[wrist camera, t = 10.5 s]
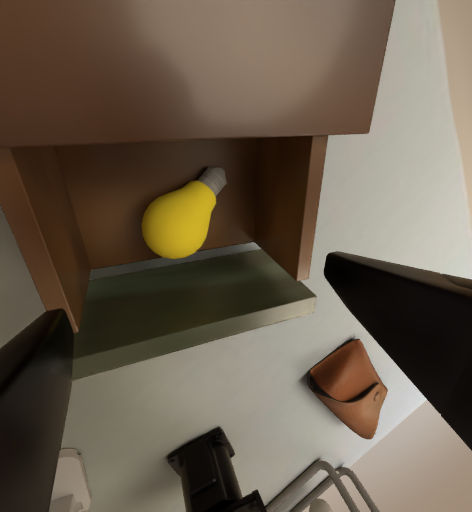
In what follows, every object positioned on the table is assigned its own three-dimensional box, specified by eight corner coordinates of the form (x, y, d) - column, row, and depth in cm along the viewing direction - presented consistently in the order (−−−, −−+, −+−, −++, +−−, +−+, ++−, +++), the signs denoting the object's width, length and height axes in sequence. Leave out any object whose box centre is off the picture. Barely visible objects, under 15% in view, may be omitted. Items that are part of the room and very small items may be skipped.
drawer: (262, 303, 23) (306, 361, 18) (95, 345, 19) (84, 438, 13) (272, 75, 15) (356, 50, 10) (-3, 63, 11) (-123, 10, 6)
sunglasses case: (391, 389, 41) (407, 440, 37) (345, 394, 44) (354, 441, 40) (358, 334, 31) (374, 395, 27) (301, 345, 34) (307, 402, 30)
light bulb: (128, 233, 15) (124, 229, 12) (192, 158, 16) (205, 136, 13) (175, 269, 16) (183, 274, 13) (233, 196, 17) (255, 183, 14)
